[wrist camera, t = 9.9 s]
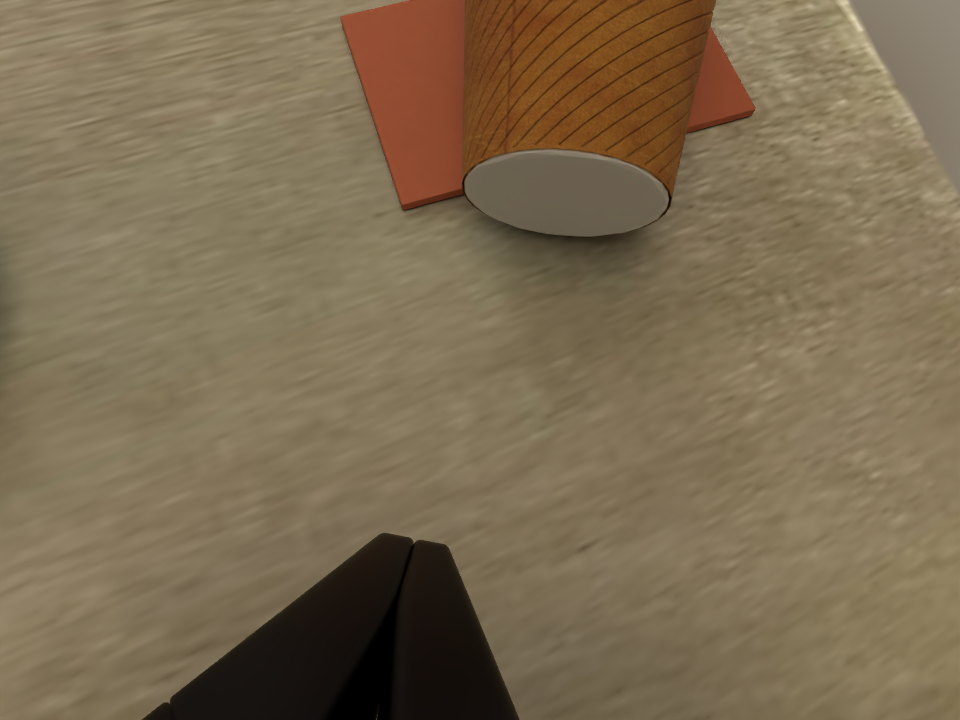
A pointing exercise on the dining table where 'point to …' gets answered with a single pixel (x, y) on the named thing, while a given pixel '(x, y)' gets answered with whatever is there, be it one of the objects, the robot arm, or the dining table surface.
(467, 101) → the disposable coffee cup
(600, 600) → the dining table surface
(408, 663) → the robot arm
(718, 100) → the mat
